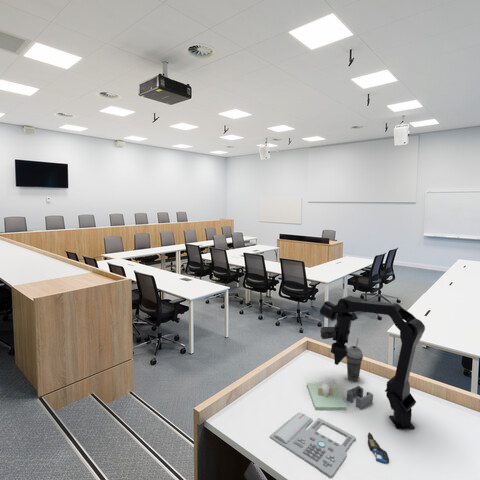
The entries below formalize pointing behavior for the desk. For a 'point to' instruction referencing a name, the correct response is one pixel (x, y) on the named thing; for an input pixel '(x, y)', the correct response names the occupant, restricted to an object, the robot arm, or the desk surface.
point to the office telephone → (313, 443)
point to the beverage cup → (354, 362)
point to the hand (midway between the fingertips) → (336, 358)
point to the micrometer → (377, 449)
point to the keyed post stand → (325, 396)
